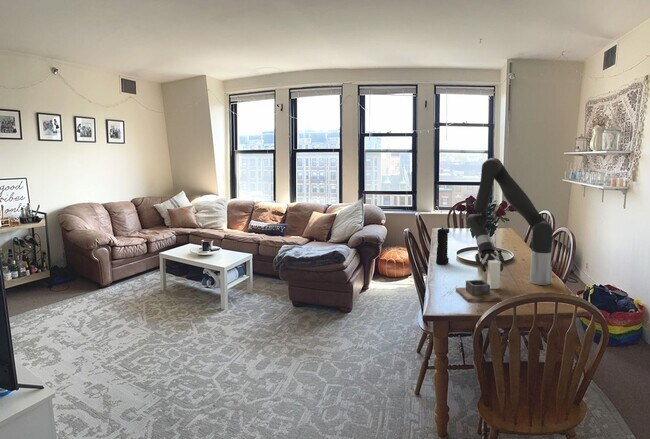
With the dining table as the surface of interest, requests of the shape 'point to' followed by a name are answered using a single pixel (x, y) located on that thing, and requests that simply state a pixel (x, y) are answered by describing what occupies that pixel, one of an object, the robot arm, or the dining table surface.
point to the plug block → (493, 274)
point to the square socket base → (477, 291)
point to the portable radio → (442, 246)
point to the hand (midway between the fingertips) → (493, 271)
